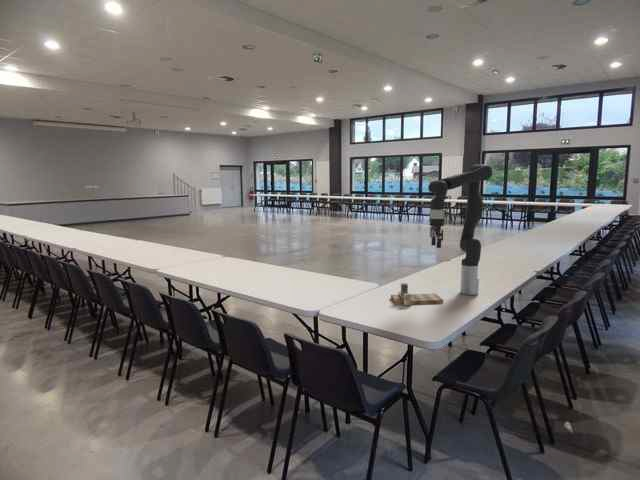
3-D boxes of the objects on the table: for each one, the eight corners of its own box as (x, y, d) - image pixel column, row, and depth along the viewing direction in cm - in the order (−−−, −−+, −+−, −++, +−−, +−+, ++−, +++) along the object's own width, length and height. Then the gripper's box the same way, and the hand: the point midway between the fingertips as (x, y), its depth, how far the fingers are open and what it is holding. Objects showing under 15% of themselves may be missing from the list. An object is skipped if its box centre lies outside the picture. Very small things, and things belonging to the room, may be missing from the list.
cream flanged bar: (404, 296, 233) (404, 280, 232) (411, 305, 218) (412, 288, 217) (397, 297, 233) (397, 280, 232) (404, 305, 218) (404, 288, 216)
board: (435, 296, 233) (435, 293, 233) (442, 303, 222) (443, 299, 221) (390, 298, 232) (390, 294, 232) (396, 304, 220) (396, 301, 220)
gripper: (448, 218, 215) (447, 248, 218) (439, 216, 229) (438, 244, 232) (434, 219, 215) (433, 249, 217) (426, 216, 229) (425, 244, 232)
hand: (436, 246), depth 225 cm, fingers open, 8 cm apart
